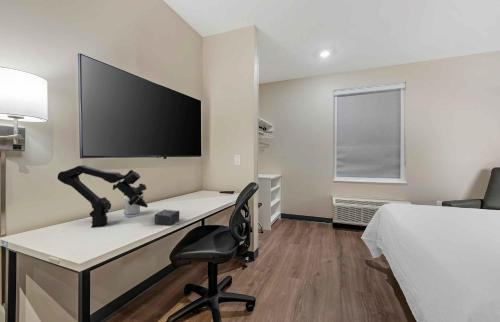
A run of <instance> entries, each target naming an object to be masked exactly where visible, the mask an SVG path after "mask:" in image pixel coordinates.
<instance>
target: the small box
mask: <svg viewBox="0 0 500 322" xmlns="http://www.w3.org/2000/svg"><path fill="white" fill-rule="evenodd" d="M179 221H180V210H173V209H172V210H171V209H163V210H161V211H158V212H156V213H155V214H154V225H161V226H172V225H173V224H175V223H176V222H179Z"/></svg>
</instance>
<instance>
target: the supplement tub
mask: <svg viewBox="0 0 500 322" xmlns="http://www.w3.org/2000/svg"><path fill="white" fill-rule="evenodd" d="M123 196H124V195H123ZM139 215H141V206H139V205H135V204H133V205H132V206H131V205H130V204H129V198H128V197H127V196H126V195H125V196H124V197H123V216H124V217H125V218H134V217H138V216H139Z"/></svg>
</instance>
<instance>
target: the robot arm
mask: <svg viewBox="0 0 500 322" xmlns="http://www.w3.org/2000/svg"><path fill="white" fill-rule="evenodd" d="M82 174H85V175H89V176H92V177H96V178H100V179H102V180H103V181H105V182H107V183H110V184H113V185H112V190H113V191H115V190H116V189H118V190H119V192H121V193H122V194H123V196H125V195H126V196H127V197H128V198H129V204H130V205H131V206H132V205H133V204H135V205H139V206H140V207H143V208H148V207H149V206H148V204H147V202H146V201H145V199H144V191H145V190H147V189H148V188H147V186H146V184H145V183H142V182H141V183H139V184H138V186H136V187H135V186H131V185H134V184H135V183H136V182H137V181H138V180H140V179H141V175H140V174H139V173H138V172H136V171H134V170H133V169H130V170H129V171H128V172H127V173H126V174H122V173H120V172H115V171H105V170H101V169H97V168H93V167H89V166H86V165H84V164H83V165H77V166H75V167H73V168H69V169H67V170H65V171H60V172H58V174H57V180H58V181H59V182H61V183H63V184H64V185H66V186H67V185H68V186H70V187H72V188H73V189H74V190H75V191H77V193H79V195H81V196H82V197H83V198H84V199H85V200H87V201H88V202H89V203H90V205H91V208H92V209H93V210H91V212H89V216H90V218H91V226H90V228H98V227H101V228H102V227H105V226H107V224H109V223H108V222H109V221H108V219H109V217H108V216H107V214H108V213H109V210H111V208H112V203H111V200H109V199H107V197H106V196H104V197H99V196H98V195H97V194H96V193H95V192H93V191H92V190H91V189H90V188H89V187H88V186H87V185H85V183H83V182H82V181H81V180H80V176H81V175H82ZM115 183H116V184H115Z"/></svg>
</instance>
